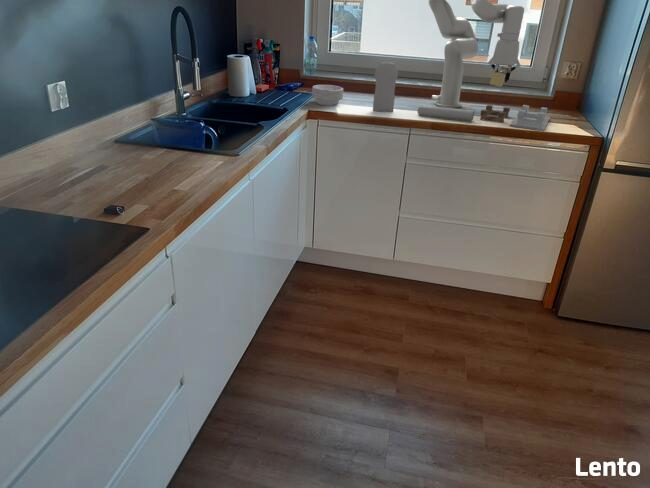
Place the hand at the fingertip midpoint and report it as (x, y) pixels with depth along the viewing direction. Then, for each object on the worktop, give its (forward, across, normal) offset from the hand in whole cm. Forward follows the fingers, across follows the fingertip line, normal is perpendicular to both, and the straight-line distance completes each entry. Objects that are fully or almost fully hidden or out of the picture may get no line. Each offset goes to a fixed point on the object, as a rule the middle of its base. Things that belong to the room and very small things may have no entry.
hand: (500, 80), depth 228 cm
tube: (+17, -19, -15) cm, 30 cm away
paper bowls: (+18, -77, -20) cm, 81 cm away
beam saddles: (+17, 0, 0) cm, 17 cm away
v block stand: (+16, +16, 0) cm, 23 cm away
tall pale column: (+17, -48, -19) cm, 54 cm away
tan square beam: (0, 0, 0) cm, 1 cm away
